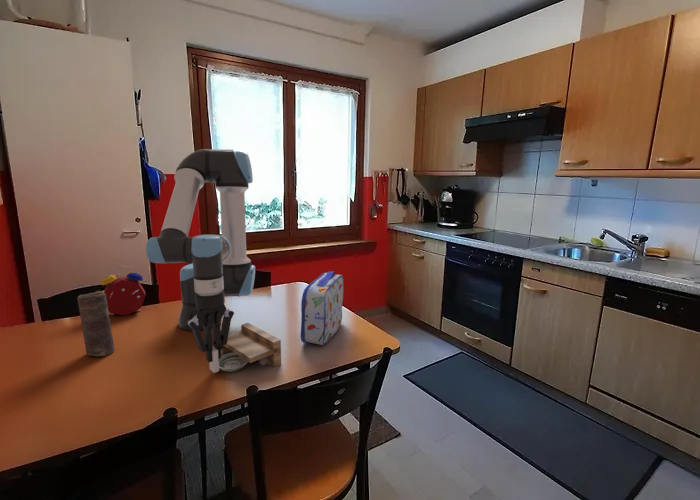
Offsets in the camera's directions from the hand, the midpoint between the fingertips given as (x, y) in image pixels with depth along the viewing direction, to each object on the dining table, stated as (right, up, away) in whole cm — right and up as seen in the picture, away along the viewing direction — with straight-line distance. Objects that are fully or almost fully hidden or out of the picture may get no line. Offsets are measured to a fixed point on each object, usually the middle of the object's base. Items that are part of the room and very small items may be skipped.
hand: (214, 370), depth 105 cm
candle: (-40, +2, +11) cm, 42 cm away
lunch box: (+29, +4, +28) cm, 41 cm away
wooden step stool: (+7, 0, +8) cm, 11 cm away
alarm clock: (-51, +8, +42) cm, 67 cm away
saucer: (+4, -1, +4) cm, 6 cm away
